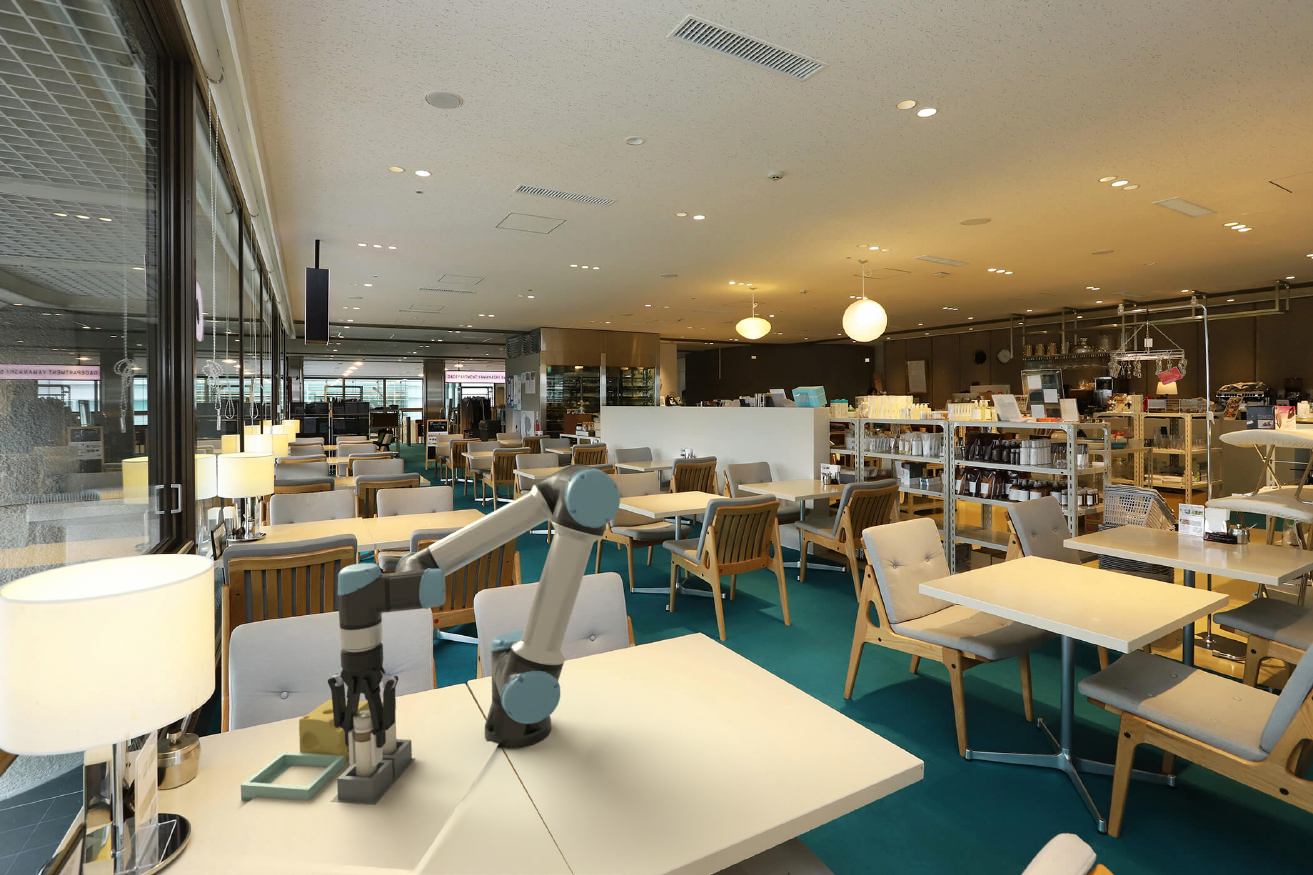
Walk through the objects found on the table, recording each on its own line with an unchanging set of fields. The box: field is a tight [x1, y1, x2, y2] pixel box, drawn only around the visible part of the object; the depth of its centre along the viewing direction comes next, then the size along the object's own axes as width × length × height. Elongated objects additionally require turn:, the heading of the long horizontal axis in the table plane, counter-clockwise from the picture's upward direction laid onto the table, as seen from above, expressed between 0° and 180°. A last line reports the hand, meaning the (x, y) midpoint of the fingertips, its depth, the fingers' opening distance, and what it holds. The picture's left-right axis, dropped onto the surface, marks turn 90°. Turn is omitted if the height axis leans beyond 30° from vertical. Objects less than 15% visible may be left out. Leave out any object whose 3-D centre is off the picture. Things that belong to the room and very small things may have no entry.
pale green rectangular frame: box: [240, 751, 346, 801], centre depth 132 cm, size 14×12×3 cm
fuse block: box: [330, 696, 416, 806], centre depth 132 cm, size 9×16×15 cm, turn 173°
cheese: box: [298, 698, 369, 762], centre depth 143 cm, size 10×11×10 cm
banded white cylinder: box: [353, 710, 377, 778], centre depth 128 cm, size 4×4×14 cm
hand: (366, 761), depth 128 cm, fingers closed on banded white cylinder, 4 cm apart
